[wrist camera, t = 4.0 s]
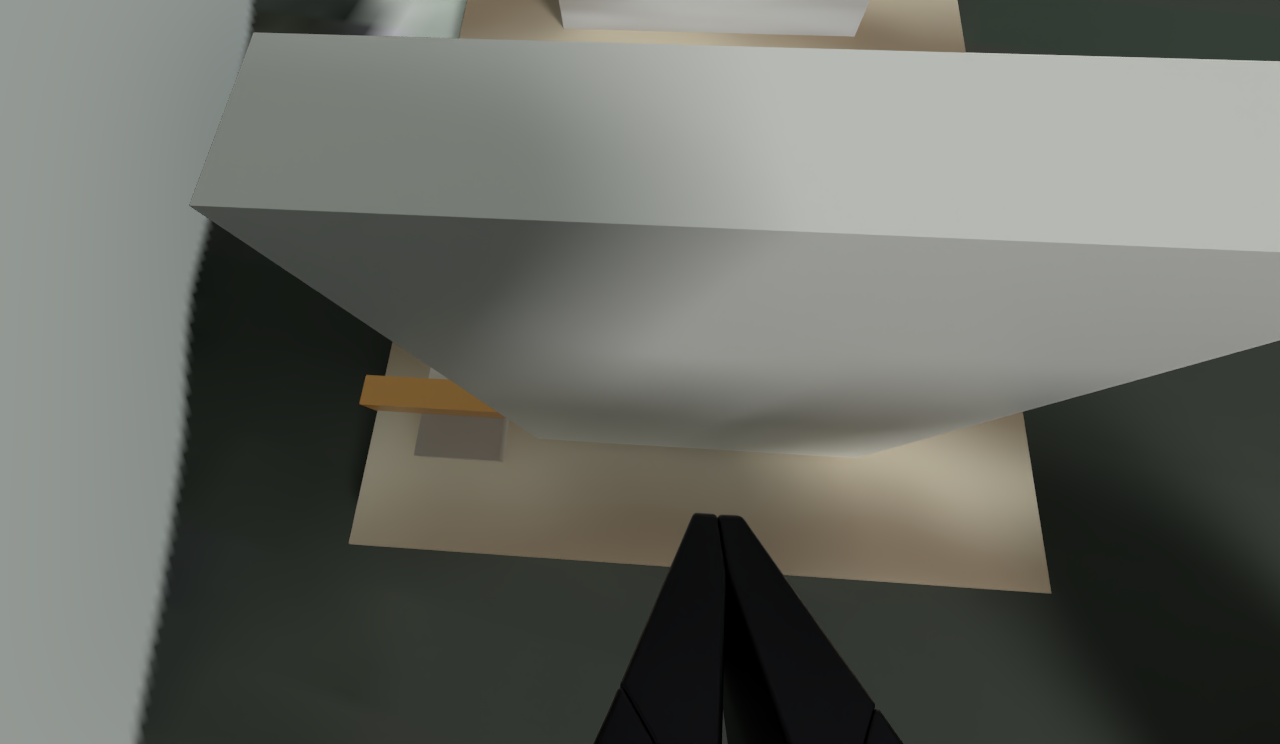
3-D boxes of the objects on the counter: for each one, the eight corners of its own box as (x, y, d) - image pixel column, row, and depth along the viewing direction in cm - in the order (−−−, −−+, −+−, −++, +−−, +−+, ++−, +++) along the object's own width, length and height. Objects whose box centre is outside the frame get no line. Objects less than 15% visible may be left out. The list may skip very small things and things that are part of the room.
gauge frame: (1011, 585, 14) (2893, 955, 2) (377, 541, 15) (-708, 645, 3) (923, -51, 22) (1265, -761, 10) (499, -59, 22) (322, -726, 10)
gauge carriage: (855, 458, 14) (1553, 263, 3) (387, 429, 14) (-382, 180, 4) (845, 277, 15) (1285, -263, 5) (424, 257, 16) (-40, -266, 5)
